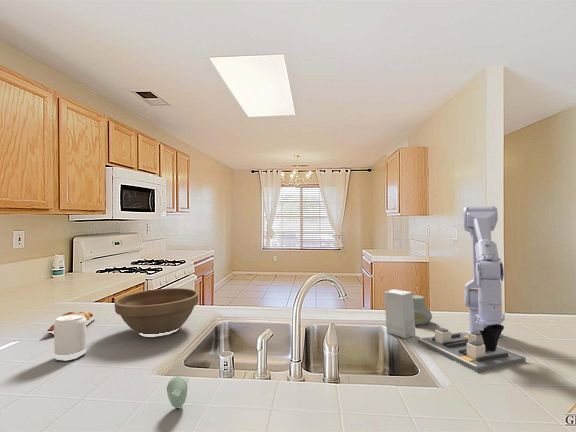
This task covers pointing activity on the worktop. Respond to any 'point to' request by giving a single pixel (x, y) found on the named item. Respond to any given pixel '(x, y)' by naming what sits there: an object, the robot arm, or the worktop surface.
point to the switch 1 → (442, 335)
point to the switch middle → (475, 337)
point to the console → (458, 353)
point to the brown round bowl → (156, 309)
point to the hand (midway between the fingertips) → (490, 350)
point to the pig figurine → (177, 391)
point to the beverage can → (70, 334)
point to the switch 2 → (475, 350)
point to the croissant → (87, 315)
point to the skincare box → (399, 313)
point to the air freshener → (421, 311)
